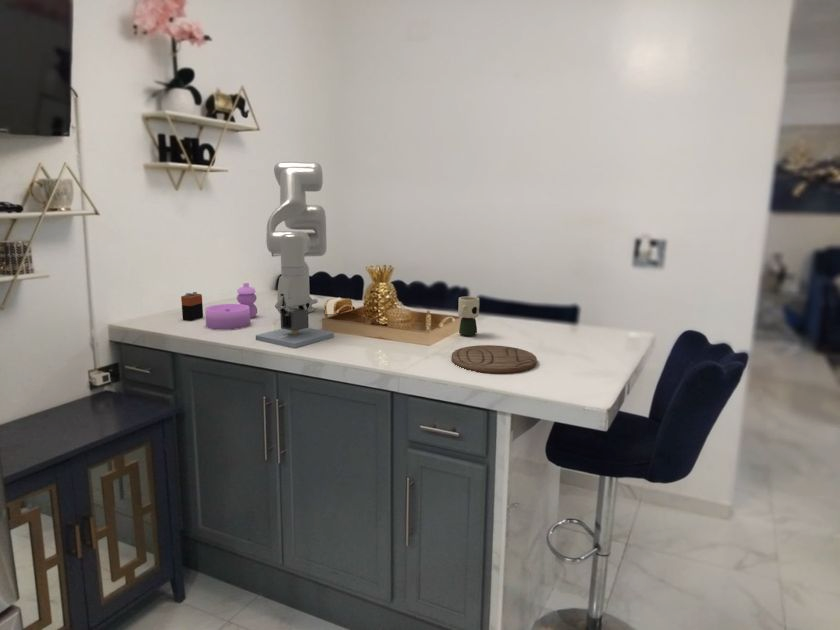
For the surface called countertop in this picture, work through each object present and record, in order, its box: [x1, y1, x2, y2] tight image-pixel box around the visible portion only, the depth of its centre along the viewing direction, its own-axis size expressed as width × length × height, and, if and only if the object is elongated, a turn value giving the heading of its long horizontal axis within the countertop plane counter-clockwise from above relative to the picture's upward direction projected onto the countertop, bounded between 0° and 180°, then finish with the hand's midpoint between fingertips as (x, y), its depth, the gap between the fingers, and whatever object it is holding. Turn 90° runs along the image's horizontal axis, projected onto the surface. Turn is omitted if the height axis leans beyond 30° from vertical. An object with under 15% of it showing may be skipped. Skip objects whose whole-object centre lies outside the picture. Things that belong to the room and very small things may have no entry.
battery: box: [180, 291, 204, 322], centre depth 228 cm, size 4×7×10 cm, turn 159°
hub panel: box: [255, 327, 335, 349], centre depth 202 cm, size 18×18×6 cm
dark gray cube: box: [279, 308, 310, 331], centre depth 201 cm, size 6×6×6 cm
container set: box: [204, 282, 258, 330], centre depth 224 cm, size 25×15×13 cm, turn 166°
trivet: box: [451, 344, 538, 375], centre depth 179 cm, size 25×25×2 cm
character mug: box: [457, 296, 480, 337], centre depth 208 cm, size 11×7×13 cm, turn 153°
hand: (294, 324), depth 201 cm, fingers closed on dark gray cube, 6 cm apart
